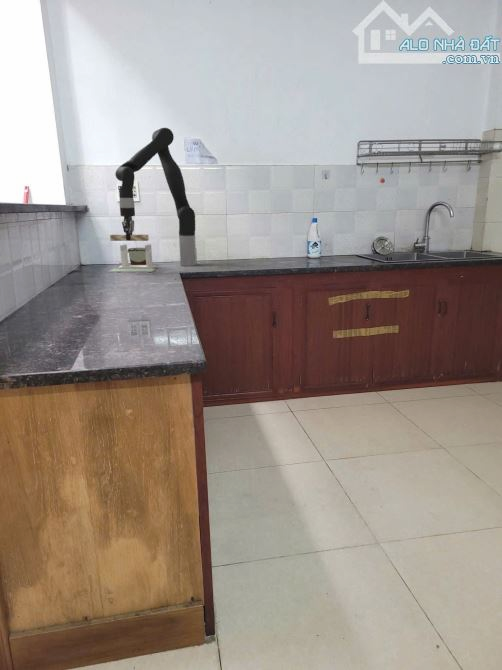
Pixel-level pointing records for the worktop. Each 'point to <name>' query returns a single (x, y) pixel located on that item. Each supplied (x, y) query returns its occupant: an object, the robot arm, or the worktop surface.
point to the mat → (132, 270)
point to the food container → (137, 256)
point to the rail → (133, 237)
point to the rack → (125, 265)
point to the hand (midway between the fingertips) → (129, 239)
